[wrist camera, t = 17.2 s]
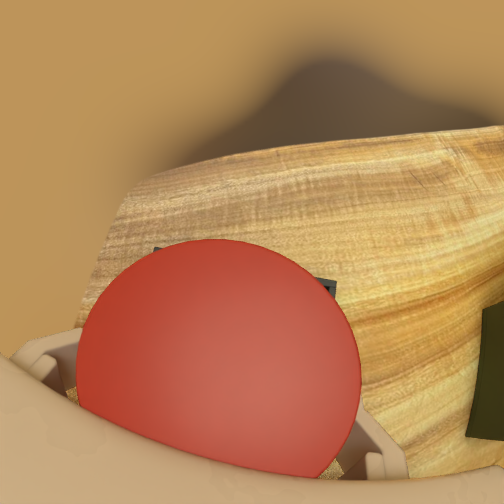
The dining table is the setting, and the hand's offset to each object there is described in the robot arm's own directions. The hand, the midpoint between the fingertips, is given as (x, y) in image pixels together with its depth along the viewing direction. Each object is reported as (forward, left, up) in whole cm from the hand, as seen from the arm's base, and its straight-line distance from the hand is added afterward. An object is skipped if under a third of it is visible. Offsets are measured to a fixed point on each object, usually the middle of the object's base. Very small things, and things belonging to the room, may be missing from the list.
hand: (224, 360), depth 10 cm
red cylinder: (-1, 0, -6) cm, 7 cm away
